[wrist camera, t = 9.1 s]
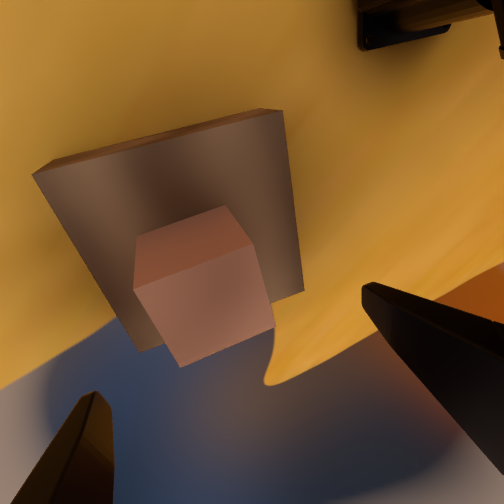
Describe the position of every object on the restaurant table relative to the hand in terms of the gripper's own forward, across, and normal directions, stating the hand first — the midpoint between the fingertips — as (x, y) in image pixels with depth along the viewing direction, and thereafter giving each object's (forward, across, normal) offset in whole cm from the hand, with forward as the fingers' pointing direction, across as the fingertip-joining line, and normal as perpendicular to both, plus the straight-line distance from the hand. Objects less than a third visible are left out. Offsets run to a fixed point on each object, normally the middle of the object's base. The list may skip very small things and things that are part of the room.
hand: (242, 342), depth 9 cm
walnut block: (+12, 0, +1) cm, 12 cm away
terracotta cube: (+8, +1, +1) cm, 9 cm away
